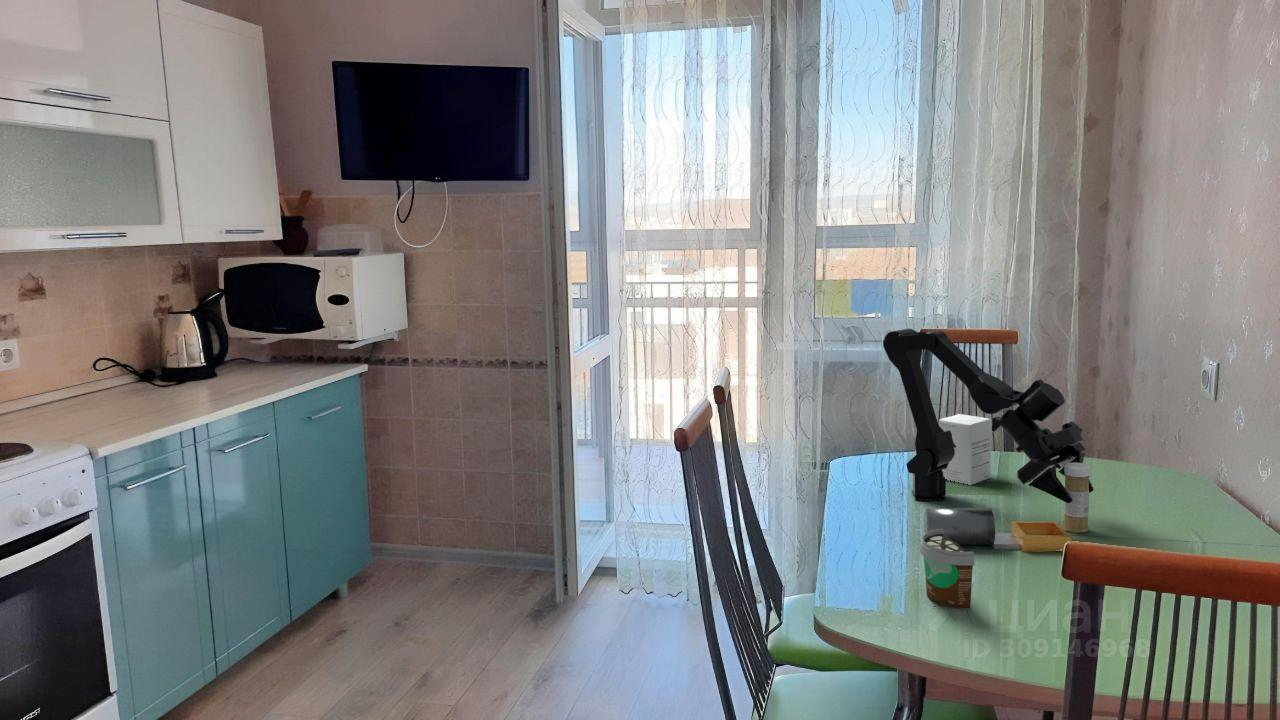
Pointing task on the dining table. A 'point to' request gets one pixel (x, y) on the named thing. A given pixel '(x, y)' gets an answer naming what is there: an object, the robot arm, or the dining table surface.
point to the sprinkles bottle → (1077, 497)
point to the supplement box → (968, 448)
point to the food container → (947, 570)
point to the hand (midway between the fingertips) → (1081, 496)
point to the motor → (980, 530)
